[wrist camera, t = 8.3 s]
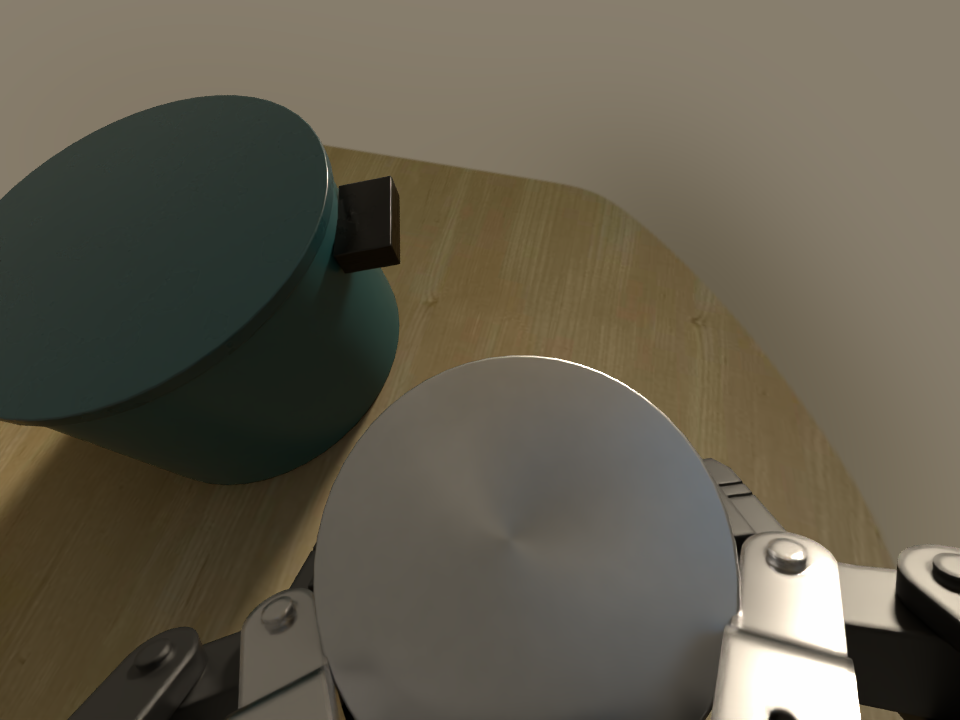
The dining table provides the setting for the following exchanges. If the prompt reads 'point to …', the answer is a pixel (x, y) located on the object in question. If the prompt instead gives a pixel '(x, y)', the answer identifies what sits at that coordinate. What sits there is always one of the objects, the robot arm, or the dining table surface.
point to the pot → (198, 291)
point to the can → (524, 554)
